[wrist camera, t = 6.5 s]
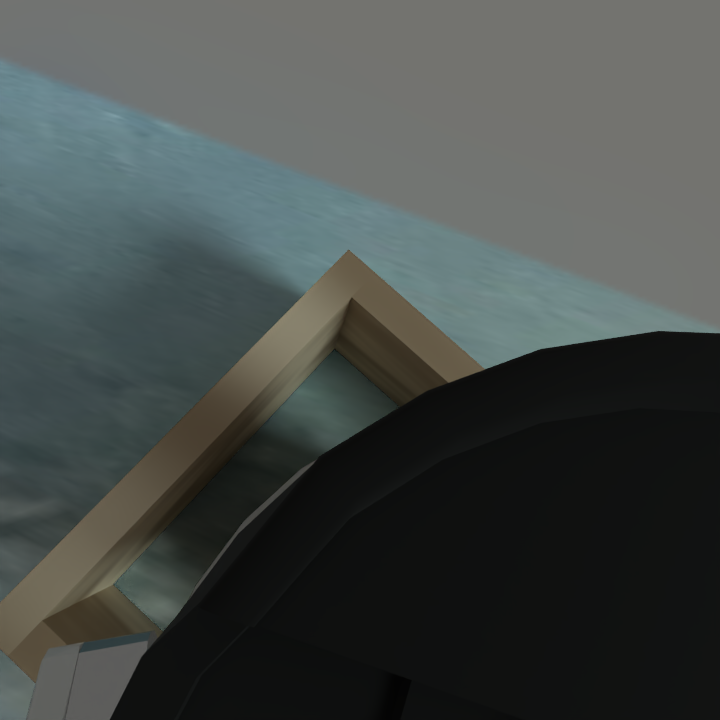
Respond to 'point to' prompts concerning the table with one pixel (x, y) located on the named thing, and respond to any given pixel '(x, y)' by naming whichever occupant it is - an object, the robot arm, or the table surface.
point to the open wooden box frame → (220, 452)
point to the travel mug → (478, 558)
